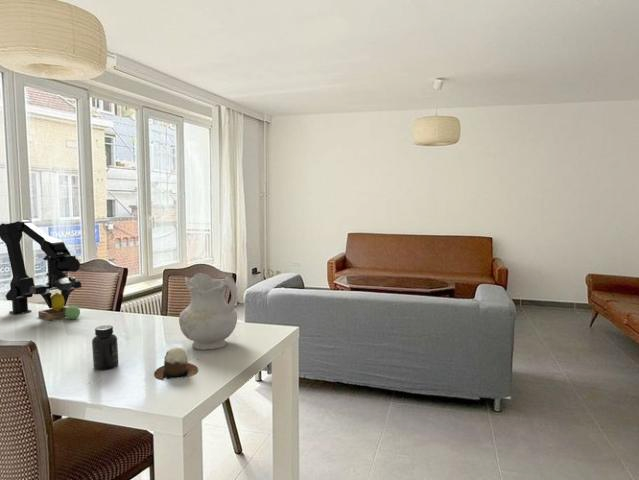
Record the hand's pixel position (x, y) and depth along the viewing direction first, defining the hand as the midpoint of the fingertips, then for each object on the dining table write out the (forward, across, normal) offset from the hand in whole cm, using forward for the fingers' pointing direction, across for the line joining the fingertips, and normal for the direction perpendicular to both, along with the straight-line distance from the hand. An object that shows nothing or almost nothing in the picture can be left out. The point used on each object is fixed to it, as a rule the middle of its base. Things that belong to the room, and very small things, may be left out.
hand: (57, 307), depth 193 cm
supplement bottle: (+4, -22, -72) cm, 75 cm away
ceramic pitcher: (+4, +10, -83) cm, 84 cm away
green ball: (+4, +1, -10) cm, 11 cm away
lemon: (+2, 0, 0) cm, 2 cm away
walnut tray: (+4, 0, 0) cm, 4 cm away
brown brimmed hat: (+4, -13, -93) cm, 94 cm away
